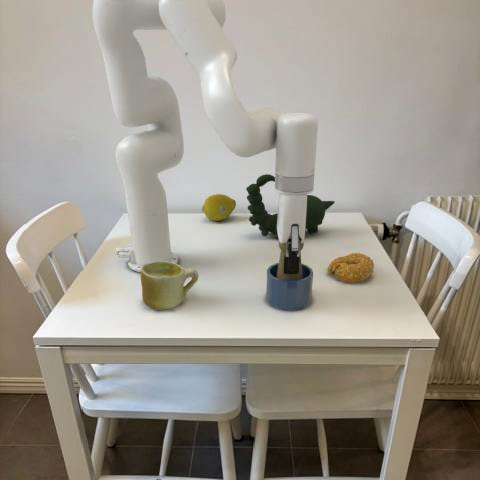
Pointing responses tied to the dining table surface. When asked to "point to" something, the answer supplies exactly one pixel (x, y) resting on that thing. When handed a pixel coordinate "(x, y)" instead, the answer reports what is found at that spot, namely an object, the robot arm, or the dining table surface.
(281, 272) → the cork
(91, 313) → the dining table surface
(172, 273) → the mug
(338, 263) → the bagel
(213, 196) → the lemon
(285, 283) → the crock
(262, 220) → the toy figurine
